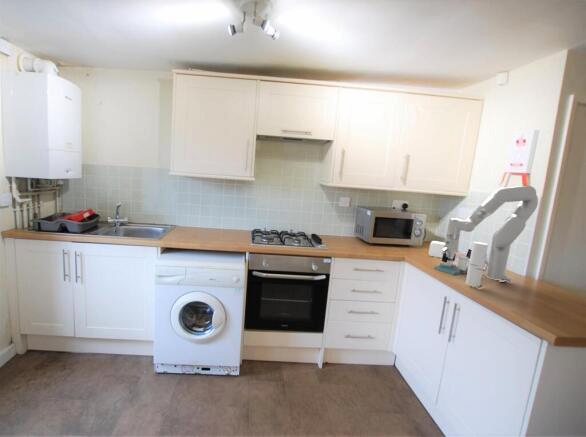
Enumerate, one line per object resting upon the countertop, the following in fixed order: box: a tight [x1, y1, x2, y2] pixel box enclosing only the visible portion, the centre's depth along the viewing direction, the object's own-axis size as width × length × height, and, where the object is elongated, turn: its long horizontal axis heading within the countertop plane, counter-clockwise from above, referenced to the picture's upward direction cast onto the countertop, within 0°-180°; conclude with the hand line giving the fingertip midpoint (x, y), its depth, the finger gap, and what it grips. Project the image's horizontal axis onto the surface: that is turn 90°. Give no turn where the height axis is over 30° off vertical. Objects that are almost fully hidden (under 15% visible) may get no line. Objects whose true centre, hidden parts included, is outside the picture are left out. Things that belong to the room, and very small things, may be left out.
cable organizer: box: [428, 240, 445, 259], centre depth 232 cm, size 15×11×12 cm
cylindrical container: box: [465, 241, 489, 287], centre depth 170 cm, size 7×7×25 cm
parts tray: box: [434, 264, 461, 276], centre depth 193 cm, size 12×9×3 cm
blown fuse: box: [443, 253, 454, 266], centre depth 201 cm, size 4×4×10 cm
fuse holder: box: [439, 262, 468, 275], centre depth 198 cm, size 16×8×3 cm, turn 34°
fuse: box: [457, 255, 470, 270], centre depth 194 cm, size 4×4×10 cm
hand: (448, 261), depth 202 cm, fingers open, 9 cm apart
